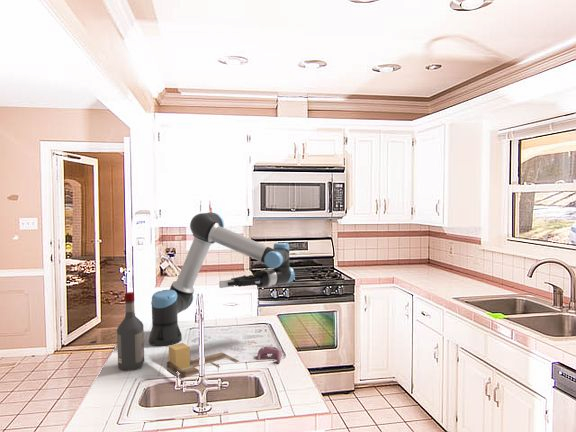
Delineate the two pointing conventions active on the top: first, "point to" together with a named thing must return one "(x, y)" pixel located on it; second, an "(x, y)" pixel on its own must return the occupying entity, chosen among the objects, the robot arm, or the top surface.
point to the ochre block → (180, 355)
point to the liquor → (130, 338)
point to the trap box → (197, 364)
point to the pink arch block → (269, 350)
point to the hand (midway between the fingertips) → (220, 284)
